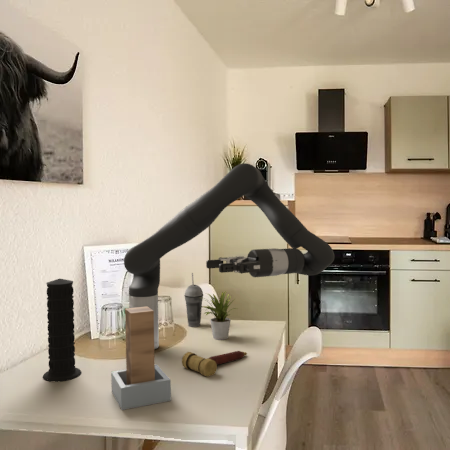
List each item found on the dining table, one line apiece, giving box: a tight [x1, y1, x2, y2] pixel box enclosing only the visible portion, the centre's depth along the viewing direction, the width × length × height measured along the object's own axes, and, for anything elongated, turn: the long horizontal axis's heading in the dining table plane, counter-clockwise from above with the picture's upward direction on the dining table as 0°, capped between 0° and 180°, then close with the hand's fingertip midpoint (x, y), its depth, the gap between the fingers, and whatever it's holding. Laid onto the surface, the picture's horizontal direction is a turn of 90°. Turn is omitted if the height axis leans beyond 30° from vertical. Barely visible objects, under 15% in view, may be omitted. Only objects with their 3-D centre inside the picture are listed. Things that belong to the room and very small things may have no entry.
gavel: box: [181, 350, 248, 377], centre depth 135 cm, size 21×5×10 cm
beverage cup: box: [184, 272, 204, 328], centre depth 178 cm, size 7×7×20 cm
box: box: [110, 364, 172, 411], centre depth 113 cm, size 12×12×5 cm
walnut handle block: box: [124, 306, 156, 385], centre depth 112 cm, size 6×6×20 cm
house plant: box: [201, 291, 238, 341], centre depth 163 cm, size 14×14×16 cm
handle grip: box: [42, 278, 82, 383], centre depth 127 cm, size 10×26×10 cm
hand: (212, 266), depth 121 cm, fingers open, 8 cm apart
